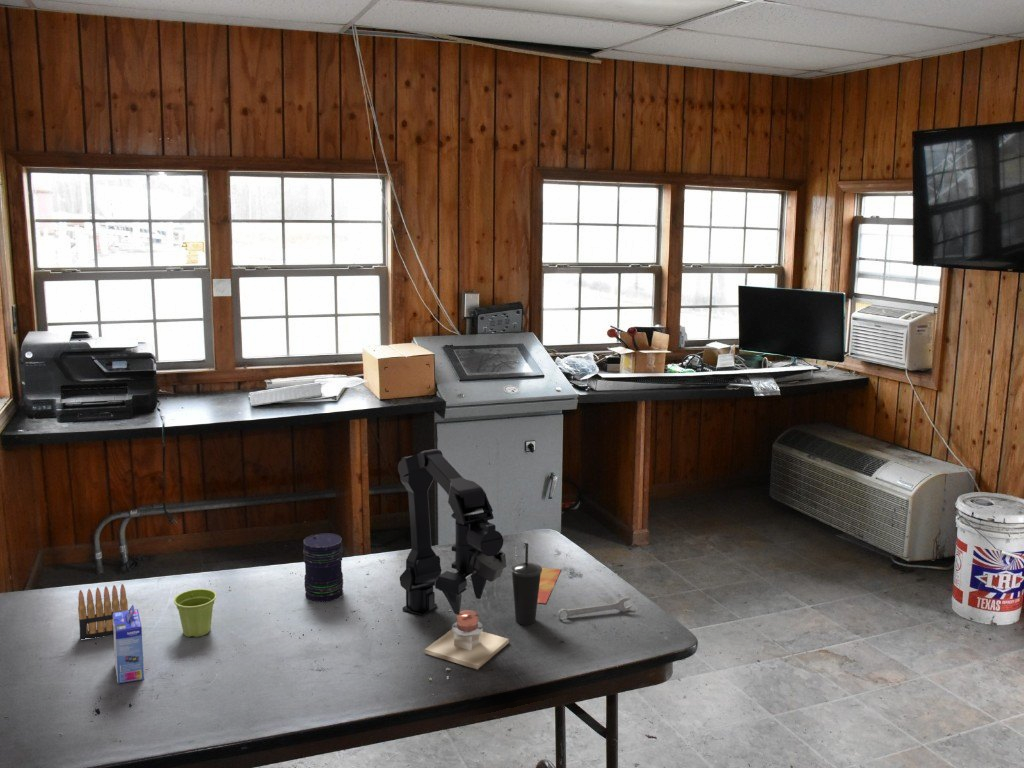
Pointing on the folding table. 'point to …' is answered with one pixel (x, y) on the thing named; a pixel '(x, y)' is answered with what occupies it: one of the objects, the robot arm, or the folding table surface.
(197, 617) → the plant pot
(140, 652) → the ink cartridge box
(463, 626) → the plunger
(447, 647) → the stand
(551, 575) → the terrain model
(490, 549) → the robot arm
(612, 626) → the folding table surface
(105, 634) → the ammunition clip
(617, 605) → the combination wrench
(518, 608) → the drinking cup
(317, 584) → the storage jar
